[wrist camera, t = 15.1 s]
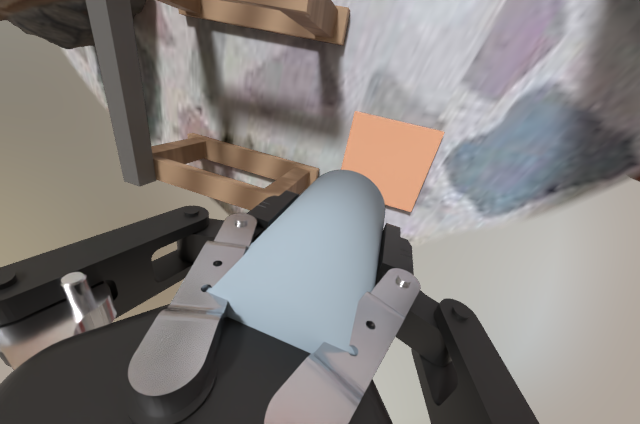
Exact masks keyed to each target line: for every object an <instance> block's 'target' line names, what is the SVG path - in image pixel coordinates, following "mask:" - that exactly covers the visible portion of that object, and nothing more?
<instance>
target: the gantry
mask: <svg viewBox="0 0 640 424" xmlns="http://www.w3.org/2000/svg"><path fill="white" fill-rule="evenodd" d="M158 1H160V2H163V3H165V4H168V5H171V6H173V7H176V8H178V9H179V14H182V15H185V16H189V17H195V18H200V19H205V20H210V21H216V22H221V23H226V24H232V25H237V26H242V27H247V28H253V29H258V30H263V31H269V32H274V33H279V34H284V35H290V36H295V37H300V38H305V39H311V40H316V41H321V42H327V43H332V44H337V45H342V46H343V45H344V40H345V35H346V30H347V24H348V19H349V14H350V10H349V8H347V7H341V6H335V5H334V4H333V2H332V1H331V0H158ZM151 148H152V155H153V162H154V169H155V176H156V180H159V181H162V182H166V183H168V184H171V185H174V186H178V187H181V188H184V189H187V190H190V191H193V192H196V193H199V194H202V195H205V196H208V197H211V198H214V199H217V200H220V201H223V202H226V203H229V204H232V205H235V206H239V207H242V208H245V209H248V210H252V209H253V208H254V207H256V206H257V205H258V204H259V203H261V202H262V201H263V200H265V199H266V198H267V197H270V196H274V195H276V196H279V195H281V194H282V193H283V192H284V191H286V190H288V191H291V192H294V193H297V194H299V195H300V194H301V193H302V192H303V191H304V190H305V189H307V188H308V187H309V186H310V185H311V184H312V183H313V182H314V181H315V180H316V179H317V178H318V173H319V168H315V167H312V166H308V165H305V164H301V163H298V162H294V161H290V160H287V159H283V158H280V157H276V156H273V155H269V154H266V153H262V152H258V151H255V150H251V149H248V148H244V147H241V146H237V145H234V144H230V143H226V142H223V141H219V140H216V139H212V138H209V137H205V136H202V135H198V134H194V133H190V134H188V139H185V140H180V141H175V142H171V143H166V144H161V145H156V146H151ZM202 158H204V159H207V160H210V161H214V162H217V163H221V164H224V165H227V166H231V167H234V168H237V169H241V170H244V171H247V172H251V173H254V174H257V175H261V176H264V177H267V178H271V179H274V180H276V181H275V182H273V183H272V184H270V185H269V186H267V187H266V188H265V189H264V188H260V187H257V186H254V185H251V184H247V183H244V182H241V181H238V180H234V179H231V178H228V177H225V176H221V175H218V174H215V173H212V172H208V171H205V170H202V169H199V168H195V167H192V166H189V165H186V164H187V163H190V162H193V161H196V160H199V159H202Z"/></svg>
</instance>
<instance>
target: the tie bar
mask: <svg viewBox="0 0 640 424" xmlns="http://www.w3.org/2000/svg"><path fill="white" fill-rule="evenodd" d="M86 5H87V10H88V14H89V19H90V24H91V28H92V33H93V38H94V42H95V47H96V52H97V56H98V61H99V66H100V70H101V75H102V80H103V84H104V89H105V94H106V98H107V103H108V108H109V112H110V117H111V121H112V126H113V131H114V136H115V140H116V145H117V149H118V155H119V159H120V164H121V168H122V173H123V178H124V181H125V182H128V183H131V184H134V185H137V186H142V185H145V184H148V183H151V182H154V181H156V176H155V169H154V162H153V155H152V148H151V141H150V135H149V128H148V121H147V114H146V107H145V100H144V93H143V87H142V80H141V73H140V66H139V59H138V52H137V45H136V39H135V32H134V25H133V18H132V11H131V4H130V0H86Z"/></svg>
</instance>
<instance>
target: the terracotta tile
mask: <svg viewBox="0 0 640 424" xmlns="http://www.w3.org/2000/svg"><path fill="white" fill-rule="evenodd" d="M444 133H445V132H444V131H440V130H436V129H431V128H427V127H423V126H418V125H414V124H410V123H406V122H401V121H397V120H393V119H388V118H384V117H380V116H376V115H371V114H367V113H363V112H358V111H355V113H354V117H353V122H352V126H351V130H350V134H349V138H348V142H347V147H346V151H345V155H344V159H343V163H342V167H341V170H350V171H355V172H357V173H360V174H362V175H364V176H366V177H367V178H369V179H370V180H371V181H372V182H373V183H374V184H375V185H376V186H377V187H378V189H379V190H380V192H381V194H382V196H383V199H384V202H385V205H388V206H391V207H395V208H398V209H402V210H405V211H409V212H411V211H412V208H413V206H414V204H415V201H416V199H417V197H418V194H419V192H420V189H421V187H422V185H423V182H424V180H425V178H426V175H427V173H428V170H429V168H430V166H431V163H432V161H433V159H434V156H435V154H436V152H437V149H438V147H439V144H440V142H441V140H442V137H443V135H444Z"/></svg>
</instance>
